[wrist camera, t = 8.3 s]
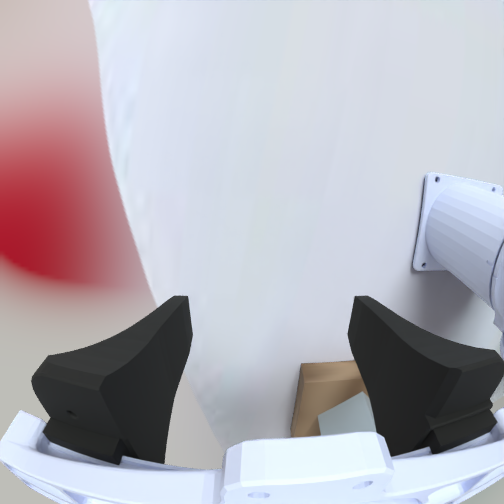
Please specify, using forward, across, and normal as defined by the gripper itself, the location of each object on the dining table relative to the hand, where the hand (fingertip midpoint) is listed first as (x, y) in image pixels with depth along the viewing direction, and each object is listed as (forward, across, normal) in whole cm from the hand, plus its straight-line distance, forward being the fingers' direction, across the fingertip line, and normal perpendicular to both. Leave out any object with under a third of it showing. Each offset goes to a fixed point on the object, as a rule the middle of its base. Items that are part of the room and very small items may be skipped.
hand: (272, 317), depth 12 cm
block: (+7, -9, +17) cm, 20 cm away
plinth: (+9, -9, +17) cm, 21 cm away
